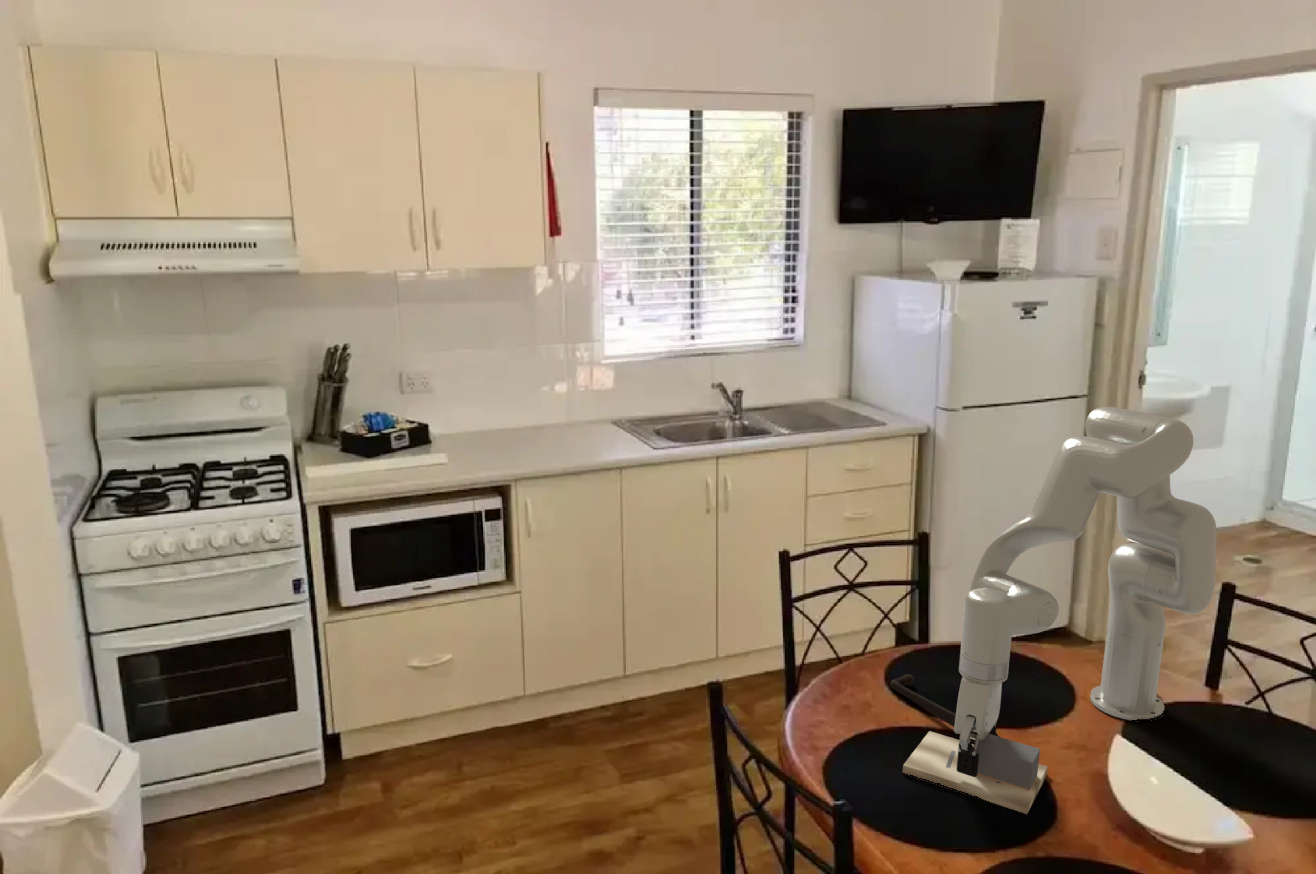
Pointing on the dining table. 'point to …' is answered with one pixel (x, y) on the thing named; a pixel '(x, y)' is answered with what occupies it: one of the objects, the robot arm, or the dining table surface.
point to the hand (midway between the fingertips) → (975, 760)
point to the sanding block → (1008, 762)
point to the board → (940, 766)
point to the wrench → (923, 700)
